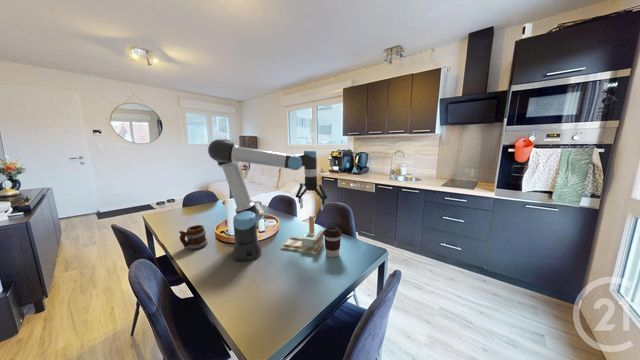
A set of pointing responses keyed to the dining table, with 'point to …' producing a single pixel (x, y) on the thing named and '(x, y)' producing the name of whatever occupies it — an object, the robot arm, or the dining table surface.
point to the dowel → (311, 224)
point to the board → (296, 245)
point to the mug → (194, 237)
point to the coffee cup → (332, 241)
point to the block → (308, 240)
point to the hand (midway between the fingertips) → (311, 209)
